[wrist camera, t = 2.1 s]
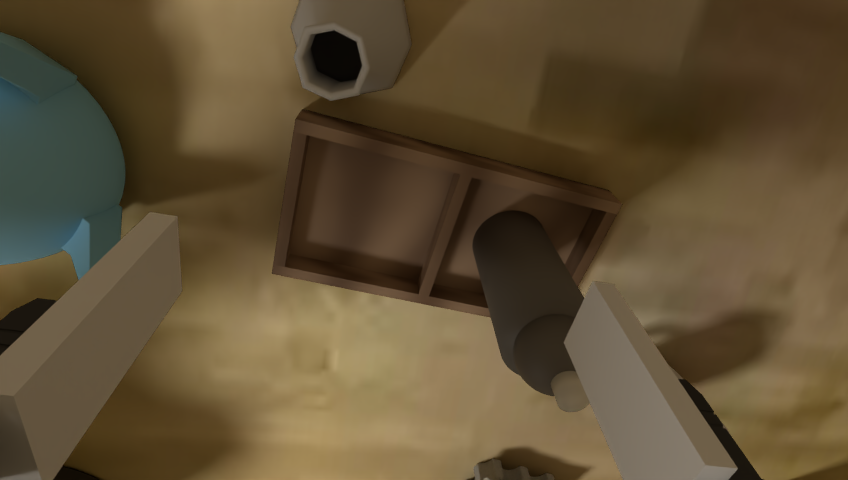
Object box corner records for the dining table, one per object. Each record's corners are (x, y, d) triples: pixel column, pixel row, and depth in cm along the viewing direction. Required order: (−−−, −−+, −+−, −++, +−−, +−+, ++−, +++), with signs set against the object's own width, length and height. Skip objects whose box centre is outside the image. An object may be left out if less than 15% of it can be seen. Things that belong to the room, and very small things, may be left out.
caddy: (279, 256, 35) (271, 273, 33) (302, 109, 30) (295, 119, 28) (545, 311, 40) (553, 330, 37) (608, 190, 34) (622, 204, 32)
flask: (404, 102, 30) (407, 155, 22) (291, 88, 29) (247, 135, 21) (419, -23, 27) (430, -22, 18) (291, -45, 26) (238, -53, 17)
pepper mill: (462, 265, 36) (499, 430, 23) (487, 202, 33) (544, 348, 20) (528, 280, 37) (599, 445, 24) (557, 220, 34) (654, 369, 21)
